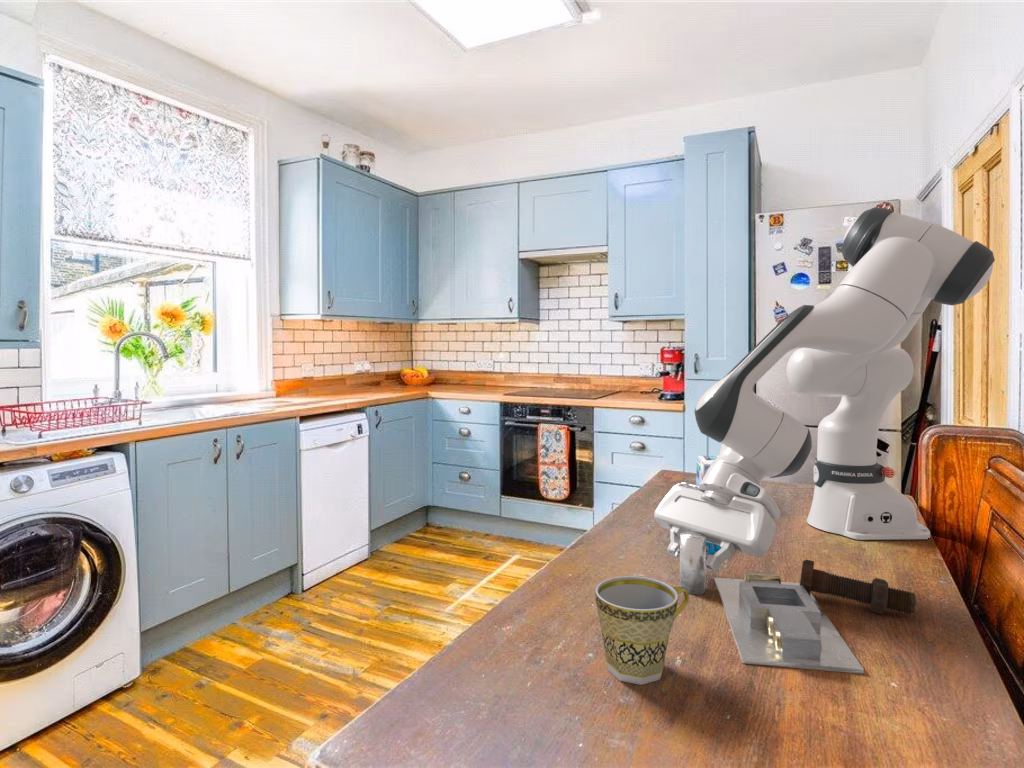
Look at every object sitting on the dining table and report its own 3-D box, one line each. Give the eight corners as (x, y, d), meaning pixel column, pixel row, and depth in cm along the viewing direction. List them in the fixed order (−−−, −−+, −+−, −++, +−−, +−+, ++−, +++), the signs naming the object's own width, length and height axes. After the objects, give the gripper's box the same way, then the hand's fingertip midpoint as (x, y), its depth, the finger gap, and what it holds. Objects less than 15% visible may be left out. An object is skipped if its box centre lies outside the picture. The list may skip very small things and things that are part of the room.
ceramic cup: (624, 701, 68) (625, 616, 68) (580, 659, 78) (580, 583, 77) (714, 675, 74) (715, 595, 73) (662, 638, 83) (663, 567, 82)
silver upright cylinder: (703, 585, 100) (704, 532, 99) (706, 595, 96) (707, 540, 95) (678, 583, 101) (679, 530, 100) (680, 593, 97) (681, 538, 96)
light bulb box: (695, 496, 155) (695, 454, 154) (722, 497, 154) (723, 455, 153) (702, 508, 145) (703, 463, 144) (731, 509, 144) (732, 464, 143)
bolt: (911, 631, 87) (797, 601, 95) (911, 603, 91) (801, 577, 98) (918, 605, 84) (800, 577, 92) (917, 577, 88) (804, 552, 95)
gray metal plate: (804, 586, 99) (804, 565, 99) (863, 674, 74) (864, 645, 73) (714, 581, 102) (715, 560, 101) (742, 663, 76) (742, 635, 76)
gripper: (669, 470, 110) (632, 533, 105) (776, 492, 93) (738, 569, 88) (684, 490, 113) (649, 553, 108) (790, 515, 96) (755, 591, 91)
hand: (690, 560), depth 98 cm, fingers open, 6 cm apart
